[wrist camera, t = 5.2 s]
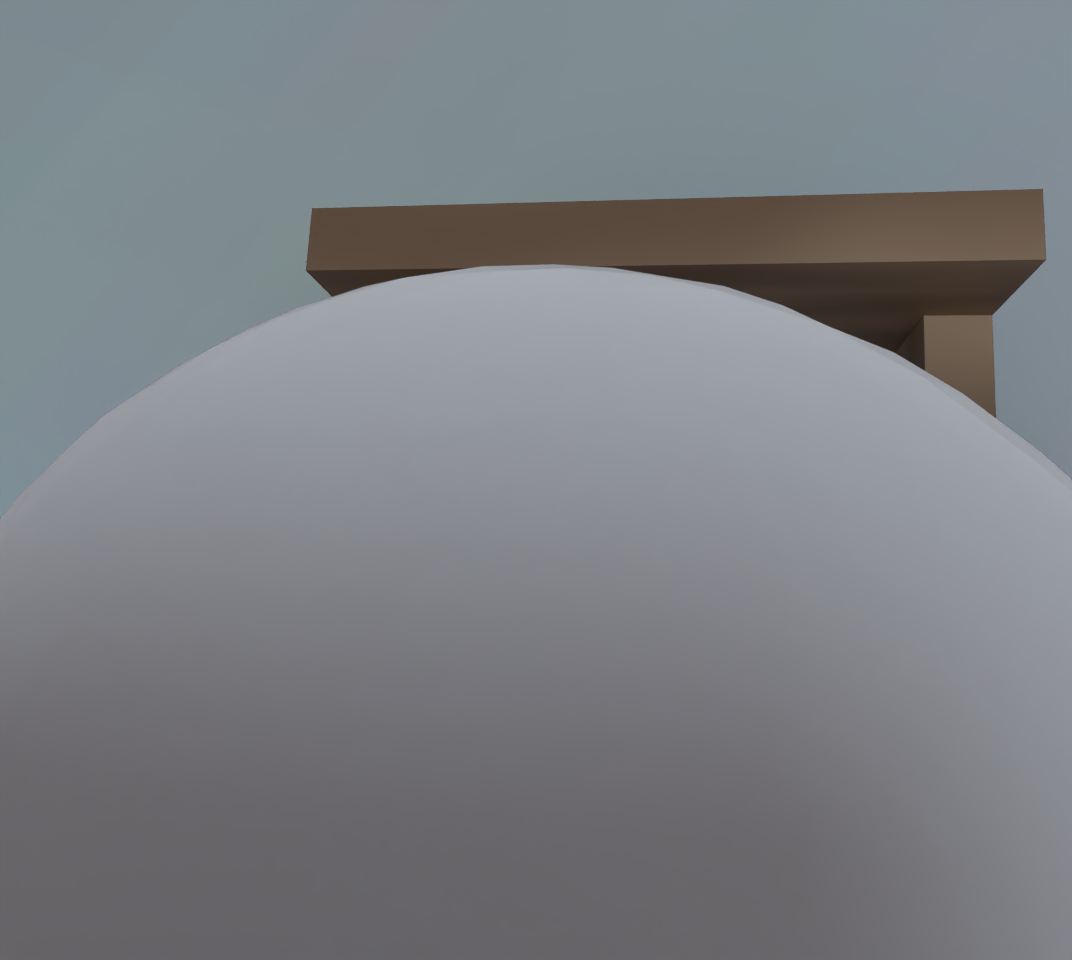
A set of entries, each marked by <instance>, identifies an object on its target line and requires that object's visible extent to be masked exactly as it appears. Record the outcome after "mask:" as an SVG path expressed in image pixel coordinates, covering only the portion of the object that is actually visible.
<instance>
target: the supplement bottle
mask: <svg viewBox="0 0 1072 960" xmlns="http://www.w3.org/2000/svg"><path fill="white" fill-rule="evenodd" d="M0 960H1072V480H1071V479H1070V478H1069V477H1068V476H1067V475H1066V474H1065V473H1064V472H1062V471H1061V470H1060V469H1059V468H1058V467H1057V466H1056V465H1055V464H1053V463H1052V462H1051V461H1050V460H1049V459H1048V458H1047V457H1045V456H1044V455H1043V454H1042V453H1041V452H1040V451H1039V450H1037V449H1036V448H1035V447H1033V446H1032V445H1031V444H1029V443H1028V442H1027V441H1025V440H1024V439H1023V438H1021V437H1020V436H1019V435H1017V434H1016V433H1015V432H1013V431H1012V430H1011V429H1009V428H1008V427H1007V426H1005V425H1004V424H1003V423H1001V422H1000V421H999V420H997V419H996V418H995V417H993V416H992V415H991V414H989V413H988V412H987V411H985V410H984V409H983V408H981V407H980V406H979V405H977V404H976V403H975V402H973V401H972V400H971V399H969V398H968V397H967V396H965V395H964V394H963V393H961V392H959V391H958V390H956V389H954V388H953V387H951V386H949V385H948V384H946V383H944V382H943V381H941V380H939V379H938V378H936V377H934V376H933V375H931V374H929V373H928V372H926V371H924V370H922V369H921V368H919V367H917V366H916V365H914V364H912V363H911V362H909V361H907V360H906V359H904V358H902V357H901V356H899V355H897V354H896V353H894V352H892V351H889V350H887V349H884V348H882V347H879V346H876V345H874V344H871V343H869V342H866V341H864V340H861V339H859V338H856V337H854V336H851V335H849V334H846V333H844V332H841V331H839V330H836V329H834V328H831V327H829V326H826V325H824V324H822V323H820V322H818V321H816V320H813V319H811V318H809V317H807V316H805V315H803V314H800V313H798V312H796V311H794V310H792V309H790V308H787V307H785V306H783V305H780V304H777V303H774V302H771V301H768V300H765V299H762V298H759V297H756V296H753V295H750V294H747V293H743V292H740V291H737V290H734V289H731V288H728V287H725V286H720V285H714V284H708V283H702V282H696V281H690V280H684V279H678V278H672V277H665V276H659V275H653V274H647V273H641V272H635V271H629V270H623V269H617V268H607V267H590V266H574V265H557V264H549V265H513V266H481V267H474V268H467V269H461V270H454V271H447V272H440V273H433V274H426V275H419V276H413V277H406V278H401V279H396V280H392V281H387V282H383V283H378V284H373V285H369V286H364V287H361V288H358V289H355V290H352V291H349V292H346V293H343V294H340V295H337V296H333V297H330V298H327V299H324V300H321V301H318V302H314V303H311V304H308V305H305V306H302V307H298V308H296V309H294V310H291V311H289V312H287V313H284V314H282V315H280V316H277V317H275V318H273V319H270V320H268V321H265V322H263V323H261V324H258V325H256V326H254V327H251V328H249V329H247V330H245V331H244V332H242V333H240V334H238V335H236V336H234V337H232V338H230V339H228V340H226V341H224V342H223V343H221V344H219V345H217V346H215V347H213V348H211V349H209V350H207V351H205V352H204V353H202V354H200V355H198V356H196V357H194V358H192V359H190V360H188V361H186V362H185V363H183V364H181V365H179V366H178V367H176V368H175V369H173V370H172V371H170V372H169V373H167V374H166V375H164V376H163V377H161V378H160V379H158V380H157V381H155V382H154V383H152V384H151V385H149V386H148V387H146V388H145V389H143V390H142V391H140V392H139V393H137V394H136V395H134V396H133V397H131V398H130V399H128V400H127V401H125V402H123V403H122V404H120V405H119V406H117V407H116V408H114V409H113V410H111V411H110V412H108V413H107V414H105V415H104V416H103V417H102V418H101V419H99V420H98V421H97V422H96V423H95V424H94V425H93V426H92V427H91V428H89V429H88V430H87V431H86V432H85V433H84V434H83V435H82V436H81V437H79V438H78V439H77V440H76V441H75V442H74V443H73V444H72V445H71V446H70V447H69V448H68V449H67V450H66V451H65V452H64V453H63V454H62V455H61V456H60V457H59V458H58V459H57V460H56V461H55V462H54V463H52V464H51V465H50V466H49V467H48V468H47V469H46V470H45V471H44V472H43V473H42V474H41V475H40V476H39V477H38V478H37V479H36V480H35V481H34V482H33V483H32V484H31V485H30V486H29V487H28V488H27V489H26V490H25V491H24V492H23V493H22V494H21V495H20V496H19V497H18V498H17V499H16V500H15V501H14V503H13V504H12V505H11V506H10V507H9V509H8V510H7V511H6V512H5V514H4V515H3V516H2V517H1V518H0Z"/></svg>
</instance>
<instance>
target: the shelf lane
mask: <svg viewBox="0 0 1072 960" xmlns="http://www.w3.org/2000/svg"><path fill="white" fill-rule="evenodd" d="M1045 260H1046V245H1045V224H1044V204H1043V189H1028V190H991V191H953V192H915V193H877V194H840V195H802V196H764V197H726V198H689V199H651V200H613V201H575V202H538V203H500V204H462V205H424V206H387V207H349V208H312V215H311V225H310V235H309V245H308V255H307V265H306V271H307V272H308V273H309V274H310V275H311V276H312V277H313V278H314V279H315V280H316V281H317V282H318V283H319V284H320V285H321V286H322V287H323V288H324V289H325V290H326V291H327V292H328V293H329V294H330V295H331V296H332V297H333V296H337V295H340V294H343V293H346V292H349V291H352V290H355V289H358V288H361V287H364V286H369V285H373V284H378V283H383V282H387V281H392V280H396V279H401V278H406V277H413V276H419V275H426V274H433V273H440V272H447V271H454V270H461V269H467V268H474V267H481V266H513V265H549V264H557V265H574V266H590V267H607V268H617V269H623V270H629V271H635V272H641V273H647V274H653V275H659V276H665V277H672V278H678V279H684V280H690V281H696V282H702V283H708V284H714V285H720V286H725V287H728V288H731V289H734V290H737V291H740V292H743V293H747V294H750V295H753V296H756V297H759V298H762V299H765V300H768V301H771V302H774V303H777V304H780V305H783V306H785V307H787V308H790V309H792V310H794V311H796V312H798V313H800V314H803V315H805V316H807V317H809V318H811V319H813V320H816V321H818V322H820V323H822V324H824V325H826V326H829V327H831V328H834V329H836V330H839V331H841V332H844V333H846V334H849V335H851V336H854V337H856V338H859V339H861V340H864V341H866V342H869V343H871V344H874V345H876V346H879V347H882V348H884V349H887V350H889V351H892V352H894V353H896V354H897V355H899V356H901V357H902V358H904V359H906V360H907V361H909V362H911V363H912V364H914V365H916V366H917V367H919V368H921V369H922V370H924V371H926V372H928V373H929V374H931V375H933V376H934V377H936V378H938V379H939V380H941V381H943V382H944V383H946V384H948V385H949V386H951V387H953V388H954V389H956V390H958V391H959V392H961V393H963V394H964V395H965V396H967V397H968V398H969V399H971V400H972V401H973V402H975V403H976V404H977V405H979V406H980V407H981V408H983V409H984V410H985V411H987V412H988V413H989V414H991V415H992V416H993V417H995V418H996V407H995V380H994V353H993V326H992V315H993V314H994V313H995V312H996V311H997V310H998V309H999V308H1000V307H1001V306H1002V305H1003V304H1004V302H1005V301H1006V300H1007V299H1008V298H1009V297H1010V296H1011V295H1012V294H1013V293H1014V292H1015V291H1016V290H1017V289H1018V288H1019V287H1020V286H1021V285H1022V284H1023V283H1024V282H1025V281H1026V280H1027V279H1028V278H1029V277H1030V276H1031V275H1032V274H1033V273H1034V272H1035V271H1036V270H1037V268H1038V267H1039V266H1040V265H1041V264H1042V263H1043V262H1044V261H1045Z"/></svg>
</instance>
